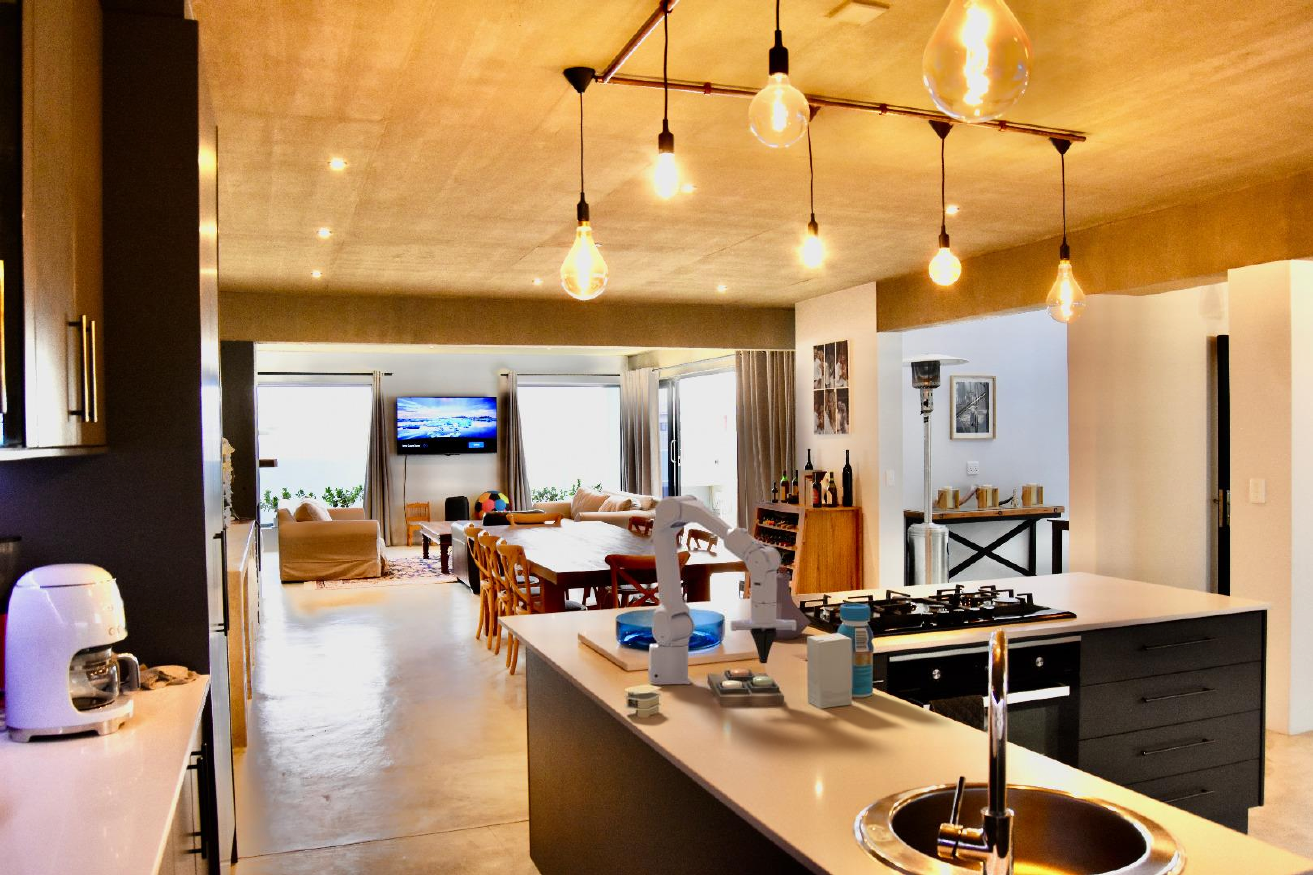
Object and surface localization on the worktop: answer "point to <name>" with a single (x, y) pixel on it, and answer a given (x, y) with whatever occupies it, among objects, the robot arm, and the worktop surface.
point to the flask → (787, 606)
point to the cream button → (731, 684)
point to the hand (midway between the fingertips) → (763, 662)
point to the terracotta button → (739, 672)
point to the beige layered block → (643, 700)
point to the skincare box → (829, 670)
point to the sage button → (762, 681)
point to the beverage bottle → (859, 646)
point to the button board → (744, 691)
